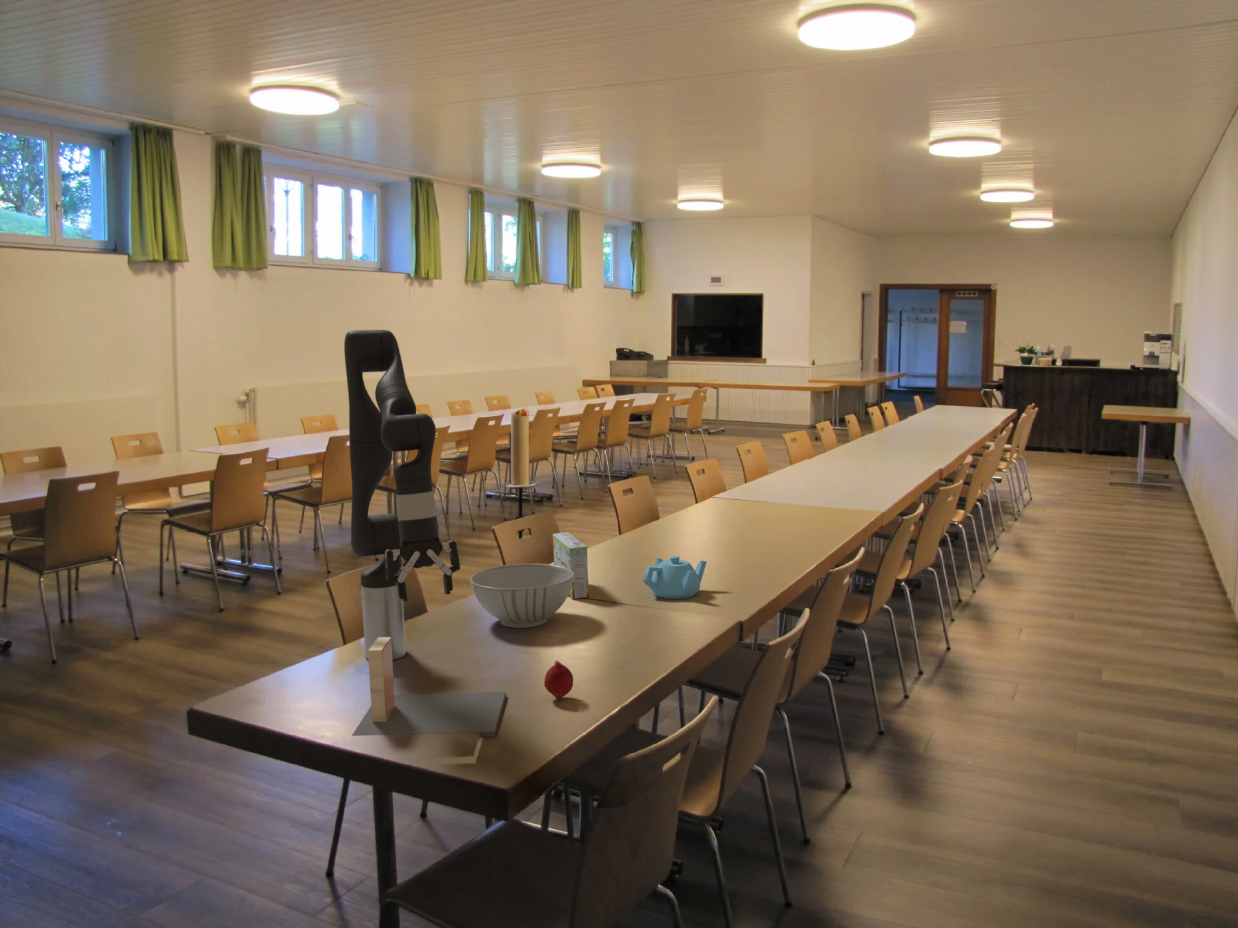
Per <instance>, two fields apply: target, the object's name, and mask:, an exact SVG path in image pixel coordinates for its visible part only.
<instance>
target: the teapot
mask: <svg viewBox="0 0 1238 928" xmlns="http://www.w3.org/2000/svg"><path fill="white" fill-rule="evenodd" d="M655 562H656V563H655V564H656V566H654V565H646V569H645V572H644V576H643V579H642V582H643V583H644V584H645V585H646V586H647V587H649V588H650V590H651V592H652V593H653V594H654V595H655V596H656V597H658V598H659V599H660V598H661V599H666V600H667V599H668V600H683V599H685V600H686V599H689V598H692V597H694V596H695V595H697V594H698V593H699V591H700V588H701V583H702V580H703V576H704V573H705V569H706V567H707V566H706V565H707V563H708V562H707V560H699V563H697V565H696V567H695V568H694V567H693V566H692V564H691V563H690V562H689V561H687V560H684V559H680V556H679V555H673V556H670V557H669V559H667V560H663V558H661V557H657V558H655Z"/></svg>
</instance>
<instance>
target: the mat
mask: <svg viewBox="0 0 1238 928" xmlns="http://www.w3.org/2000/svg"><path fill="white" fill-rule="evenodd" d="M394 697H395V706H394V708H393V710H392V712H391V713H390V715H389V717H388V718H387V720H386V722H372V709H371V706H370V707H369V709H368V710H367V712H366V713H365V714H364V716H363V718H362V719H361V720H360V722H359V723H358V725H357V727H356V728H355V730H354V731H353V732H352V735H351V736H382V735H383V736H384V735H385V736H389V735H416V734H417V735H423V734H427V735H428V734H430V735H431V734H457V733H459V734H460V733H462V734H463V733H466V734H467V733H479V736H478V737H479V738H490V737H491V738H494V737H495V735H496V734H497V733H496V732H497V729H498V726H499V725H498V724H499V721H500V718H501V716H502V715H501V714H502V712H503V708H504V704H505V701H506V698H507V692H506V691H485V692H484V691H481V692H478V691H477V692H450V693H449V692H445V693H443V692H442V693H437V692H436V693H408V694H407V693H406V694H401V693H400V694H394Z"/></svg>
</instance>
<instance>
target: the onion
mask: <svg viewBox="0 0 1238 928" xmlns="http://www.w3.org/2000/svg"><path fill="white" fill-rule="evenodd" d="M543 681H544V687H545V689H546V691H548V693H549V694H551V695H552V696H553V697H554V698H555V699H557V700H561V699H562V698H564V697H565V696H567V695H568V694H569V693H570V692H571V691H572V689H573V686H574V675H573V673H572V672H571V670H570V669H569V668H568V667H567V666H566V665H564V664H562V663H561V662H560V660H558V659H555V661H554V665H552V666H551V667H550V668H549V669H548V670H547V671H546V673H545V676H544V680H543Z"/></svg>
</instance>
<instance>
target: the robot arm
mask: <svg viewBox="0 0 1238 928" xmlns="http://www.w3.org/2000/svg"><path fill="white" fill-rule="evenodd" d="M343 343H344V345H343V347H344V349H343V350H344V361H345V362H344V363H345V365H344V366H345V372H346V373H345V374H346V382H347V394H348V410H349V413H348V416H349V417H348V418H349V419H348V422H349V423H348V427H349V428H348V430H349V431H348V432H349V435H348V437H349V439H348V441H349V442H348V443H349V461H350V462H349V463H350V474H351V475H350V476H351V515H350V516H351V518H350V536H351V537H350V539H351V546H352V551H353V553H354V554H355V556H358V557H360V558H361V557H371V556H373V557H374V556H379V555H380V556H382V555H383V557H382V559H380V561H378V562H377V563H376V564H374V565H373V566H370V567H369V568H367V569H364V571H362V572H361V573H360V591H361V603H362V604H361V605H362V606H361V607H362V621H363V623H362V624H363V625H362V626H363V636H364V638H363V639H364V640H363V641H364V655H365V656H364V657H365V659H367V660H368V661H369V658H368V650H369V649H370V647H371V646H372V645H373V643H374V642H375V641H376V640H377V638H378V637H391V644H392V661H393V660H398V659H400V658H403V657H404V656H405V655H406V654H407V650H406V648H407V647H406V634H405V633H406V629H405V628H406V627H405V612H404V611H405V608H404V602H405V603H406V602H408V595H407V586H406V582H405V579H406V577H408V574H409V573H410V571H411V570H412V569H421V568H423V567H428V568H429V567H432V566H434V565H435V566H436V567H437V568H438V569H439V570H440V571H442V573H443V574H442V581H443V582H442V583H443V590H444V594H445V595H451V591H453V589H454V586H453V585H454V584H453V574H454V573H455V572H457V571H460V569H461V563H460V558H459V557H460V556H459V551H458V545H457V542H456V541H454V540H452V539H450V540H448V541H446V542H441V539H440V533H439V531H440V530H439V524H438V509H437V506H436V504H437V503H436V500H435V496H434V489H433V480H432V461H433V450H434V446H435V441H436V436H437V435H436V434H437V429H436V423H435V422H434V420H433V418H432V417H431V416H430V415H429V414H427V413H417V406H416V403H415V401H414V398H413V396H412V393H411V392H410V388H409V386H408V384H407V380H406V376H405V369H404V365H403V360H402V355H401V351H400V347H399V343H398V341H397V338H396V335H394V333H393V332H392V331H391V330H387V329H352V330H348V331H347V333H346V334H345V337H344V342H343ZM382 372H384V373H383V375H382V376H381V377H380V379H379V380H378V382H377V383H376V386H375V391H374V392H375V393H374V396H375V401H376V404H375V402H374V401H373V399H372V398H371V396H370V394H369V393H368V390H367V387H366V385H365V380H364V376H363V373H382ZM376 405H377V406H376ZM416 450H417V453H416V456H415V457H414V459H413V460H412V459H411V460H410V461H408V462H407V461H406V462H404V463H402V464H398V465H397V466H396V467H395V468H394V482H395V492H396V512H397V514H395V513H393V512H391V513H380V514H379V513H378V514H370V515H369V509H370V504H371V500H372V499H373V496H374V493H375V491H376V489H377V487H378V486H379V484H380V482H381V481H382V480H383V478H384V476H385V475H386V473H387V471H388V469H389V467H390V466H391V464H392V460H393V452H395V453H398V452H407V451H416ZM443 549H444V550H445V552H446V553H448V554H449V559H450V564H451V565H449V566H448V565H447V564H446V563H445V562H444V560H442V559H441V558H440V555H441V553H442V551H443ZM402 559H403V560H404V562H403V561H402ZM402 562H403V563H402Z"/></svg>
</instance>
